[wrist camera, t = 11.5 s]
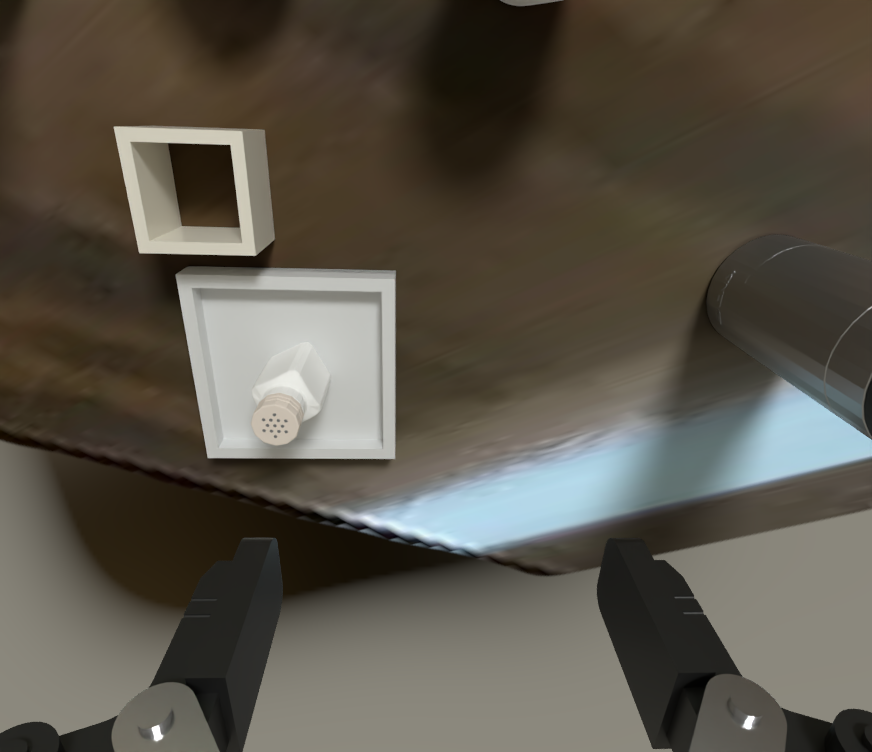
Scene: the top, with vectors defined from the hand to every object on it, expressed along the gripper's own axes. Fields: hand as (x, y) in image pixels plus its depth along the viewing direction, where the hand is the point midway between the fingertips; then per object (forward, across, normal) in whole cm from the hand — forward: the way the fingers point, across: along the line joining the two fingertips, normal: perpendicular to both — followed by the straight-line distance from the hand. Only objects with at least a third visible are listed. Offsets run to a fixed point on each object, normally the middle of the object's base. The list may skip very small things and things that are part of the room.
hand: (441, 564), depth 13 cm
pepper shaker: (+31, +10, +9) cm, 34 cm away
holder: (+32, +15, -5) cm, 36 cm away
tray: (+32, +10, +9) cm, 35 cm away
